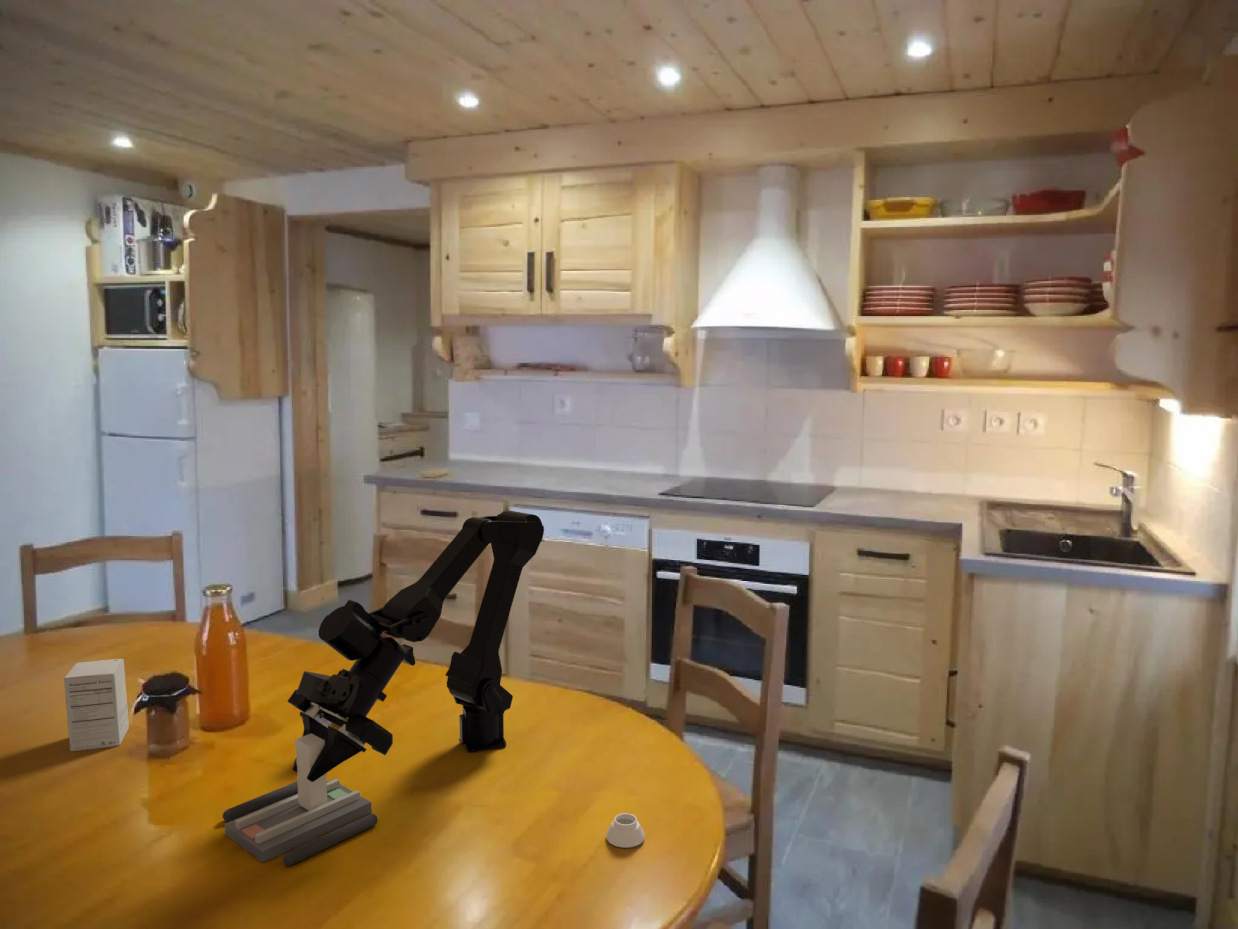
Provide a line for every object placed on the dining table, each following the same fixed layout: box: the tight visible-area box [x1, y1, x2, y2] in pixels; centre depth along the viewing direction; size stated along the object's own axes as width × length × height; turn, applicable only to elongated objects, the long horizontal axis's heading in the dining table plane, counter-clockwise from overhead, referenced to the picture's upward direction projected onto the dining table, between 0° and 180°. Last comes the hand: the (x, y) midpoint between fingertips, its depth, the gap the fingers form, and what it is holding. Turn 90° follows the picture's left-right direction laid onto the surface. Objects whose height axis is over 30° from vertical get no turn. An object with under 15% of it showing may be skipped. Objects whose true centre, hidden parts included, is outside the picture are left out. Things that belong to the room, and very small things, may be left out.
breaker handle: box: [295, 733, 327, 811], centre depth 119 cm, size 2×3×10 cm
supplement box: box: [63, 658, 130, 752], centre depth 143 cm, size 7×7×13 cm
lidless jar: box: [606, 812, 645, 848], centre depth 115 cm, size 5×3×5 cm
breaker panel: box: [224, 778, 373, 863], centre depth 118 cm, size 16×10×2 cm, turn 140°
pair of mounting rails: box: [222, 781, 379, 867], centre depth 118 cm, size 14×18×2 cm
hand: (302, 776), depth 118 cm, fingers closed on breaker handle, 3 cm apart
